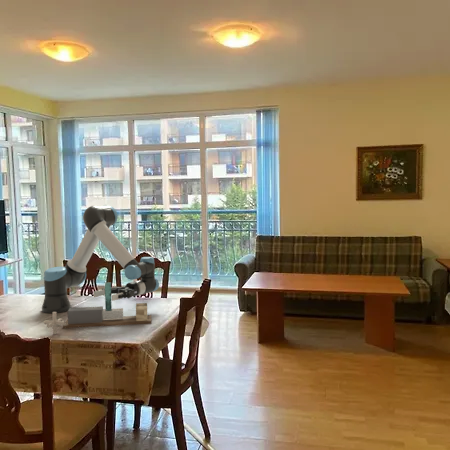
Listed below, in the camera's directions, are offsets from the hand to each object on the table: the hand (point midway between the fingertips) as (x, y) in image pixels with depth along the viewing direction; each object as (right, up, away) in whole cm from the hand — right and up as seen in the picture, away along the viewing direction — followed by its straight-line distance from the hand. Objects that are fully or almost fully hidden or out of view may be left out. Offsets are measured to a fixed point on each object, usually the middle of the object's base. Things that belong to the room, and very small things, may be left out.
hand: (102, 296), depth 224 cm
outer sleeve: (-9, -13, +2) cm, 16 cm away
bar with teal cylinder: (-3, -11, +3) cm, 12 cm away
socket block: (+18, -12, +6) cm, 23 cm away
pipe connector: (-18, -15, -14) cm, 28 cm away
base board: (+2, -14, +4) cm, 14 cm away
